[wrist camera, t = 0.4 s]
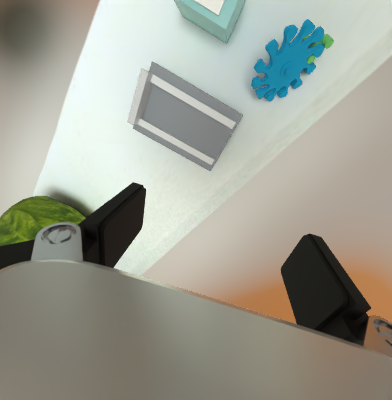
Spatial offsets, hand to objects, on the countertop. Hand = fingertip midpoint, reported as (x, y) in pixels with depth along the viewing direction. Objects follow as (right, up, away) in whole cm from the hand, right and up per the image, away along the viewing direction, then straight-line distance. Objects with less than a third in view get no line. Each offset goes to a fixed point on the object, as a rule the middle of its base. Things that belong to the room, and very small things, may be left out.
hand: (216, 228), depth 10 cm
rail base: (-3, +17, +25) cm, 30 cm away
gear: (+13, +23, +19) cm, 32 cm away
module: (+1, +31, +17) cm, 35 cm away
